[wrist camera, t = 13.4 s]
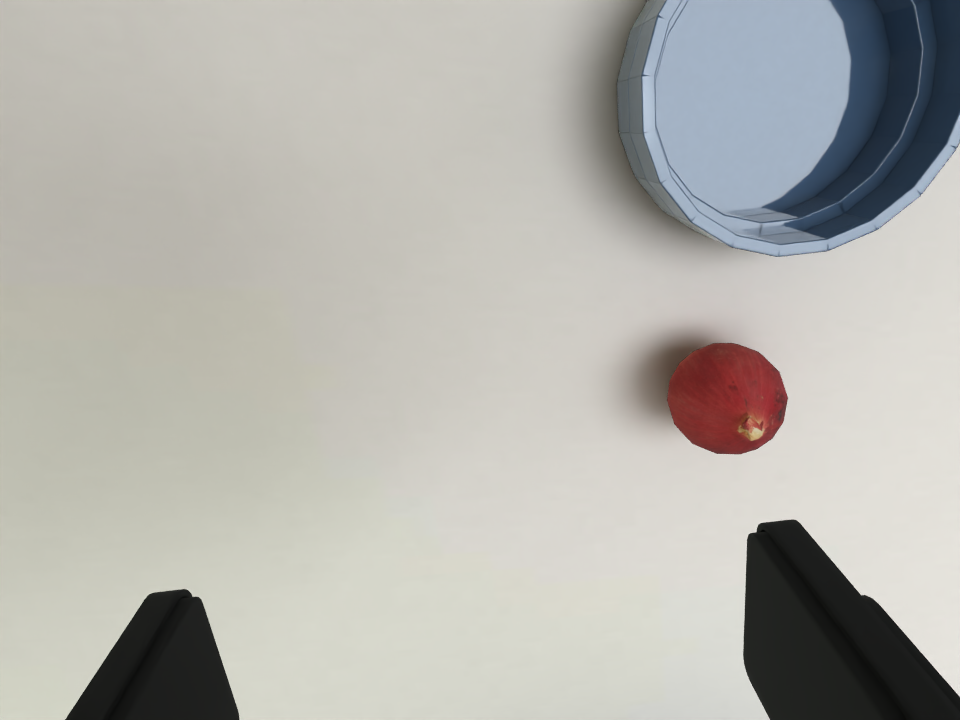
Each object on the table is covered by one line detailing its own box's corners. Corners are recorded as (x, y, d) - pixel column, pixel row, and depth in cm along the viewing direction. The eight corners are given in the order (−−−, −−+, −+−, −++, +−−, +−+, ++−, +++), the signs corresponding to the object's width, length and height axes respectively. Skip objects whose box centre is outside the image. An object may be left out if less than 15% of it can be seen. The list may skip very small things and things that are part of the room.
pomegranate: (758, 326, 37) (834, 376, 29) (742, 418, 39) (810, 488, 31) (656, 325, 37) (707, 376, 29) (646, 418, 39) (691, 488, 31)
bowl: (610, -61, 30) (637, -96, 25) (928, -100, 30) (1014, -143, 25) (621, 253, 35) (646, 272, 30) (894, 221, 35) (961, 236, 30)
